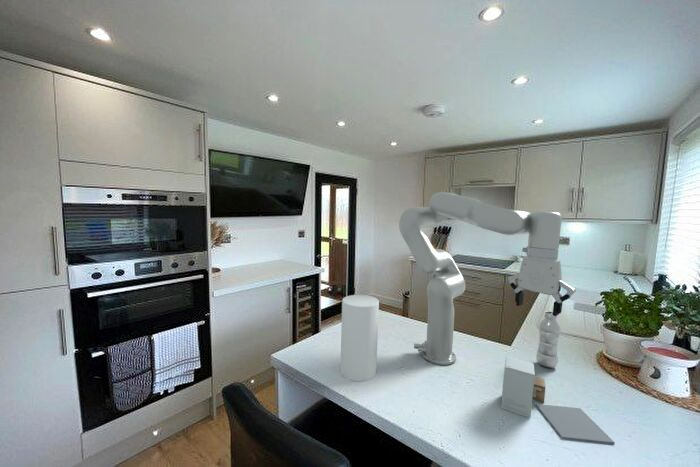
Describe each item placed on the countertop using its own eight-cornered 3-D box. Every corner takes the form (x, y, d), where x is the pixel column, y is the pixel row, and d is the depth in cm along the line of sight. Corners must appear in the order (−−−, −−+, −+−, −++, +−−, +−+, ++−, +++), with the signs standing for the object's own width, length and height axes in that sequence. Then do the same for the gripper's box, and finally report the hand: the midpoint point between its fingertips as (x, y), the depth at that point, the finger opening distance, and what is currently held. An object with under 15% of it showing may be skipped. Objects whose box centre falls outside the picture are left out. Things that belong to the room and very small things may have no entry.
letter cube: (524, 397, 86) (525, 381, 86) (524, 388, 91) (525, 373, 90) (544, 403, 83) (545, 387, 83) (543, 394, 88) (544, 378, 87)
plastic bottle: (561, 371, 101) (566, 317, 99) (540, 368, 102) (545, 315, 100) (552, 362, 107) (556, 311, 105) (532, 359, 108) (536, 309, 107)
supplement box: (531, 419, 77) (535, 375, 76) (500, 408, 81) (503, 366, 80) (530, 403, 83) (534, 362, 82) (502, 394, 87) (505, 355, 86)
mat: (562, 438, 70) (562, 436, 70) (535, 405, 82) (536, 404, 82) (614, 444, 69) (614, 442, 69) (580, 409, 81) (580, 408, 81)
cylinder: (353, 357, 106) (355, 292, 104) (382, 368, 99) (385, 299, 97) (332, 372, 96) (334, 300, 94) (363, 386, 89) (366, 309, 87)
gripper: (505, 250, 87) (501, 303, 89) (574, 259, 74) (568, 322, 75) (516, 248, 92) (511, 299, 94) (582, 257, 79) (576, 316, 80)
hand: (536, 309), depth 85 cm, fingers open, 9 cm apart
